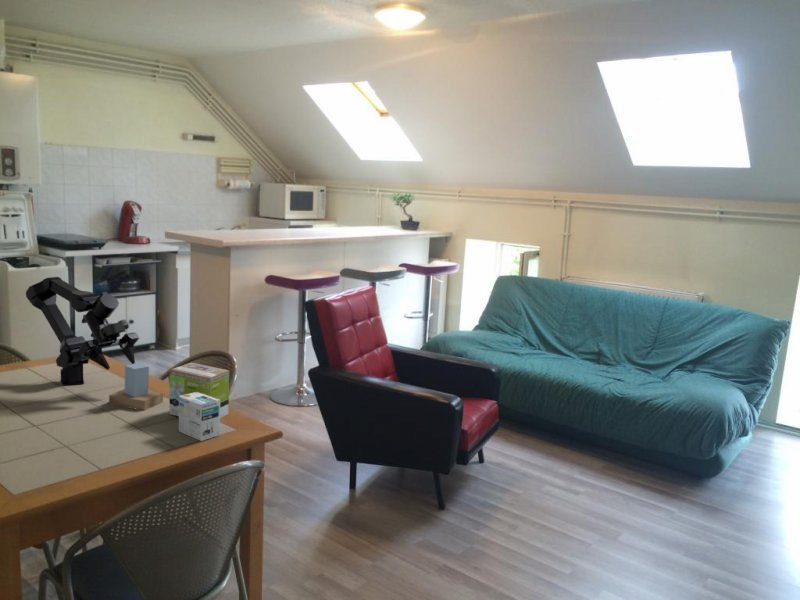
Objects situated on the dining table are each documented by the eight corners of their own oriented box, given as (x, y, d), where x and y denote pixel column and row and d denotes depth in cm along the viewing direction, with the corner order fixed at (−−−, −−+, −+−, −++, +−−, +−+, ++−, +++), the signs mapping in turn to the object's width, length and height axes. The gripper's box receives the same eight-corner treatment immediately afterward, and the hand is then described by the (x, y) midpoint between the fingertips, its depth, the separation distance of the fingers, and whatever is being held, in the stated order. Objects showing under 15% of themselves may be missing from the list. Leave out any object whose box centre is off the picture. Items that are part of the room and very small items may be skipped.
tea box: (168, 415, 200) (168, 368, 198) (190, 406, 209) (190, 361, 207) (208, 425, 195) (209, 376, 192) (229, 415, 204) (230, 368, 201)
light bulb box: (220, 435, 187) (221, 399, 185) (201, 442, 182) (201, 404, 180) (197, 425, 193) (197, 390, 191) (177, 431, 188) (177, 395, 186)
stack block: (128, 397, 215) (128, 387, 215) (162, 403, 212) (162, 393, 211) (109, 405, 207) (109, 395, 206) (144, 412, 203) (144, 401, 202)
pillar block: (138, 390, 212) (139, 363, 211) (148, 394, 209) (148, 366, 208) (124, 393, 208) (125, 365, 207) (134, 397, 205) (134, 369, 204)
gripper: (83, 316, 203) (106, 357, 199) (135, 308, 219) (157, 347, 215) (68, 336, 208) (90, 377, 204) (120, 327, 224) (141, 365, 220)
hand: (121, 366), depth 211 cm, fingers open, 9 cm apart
